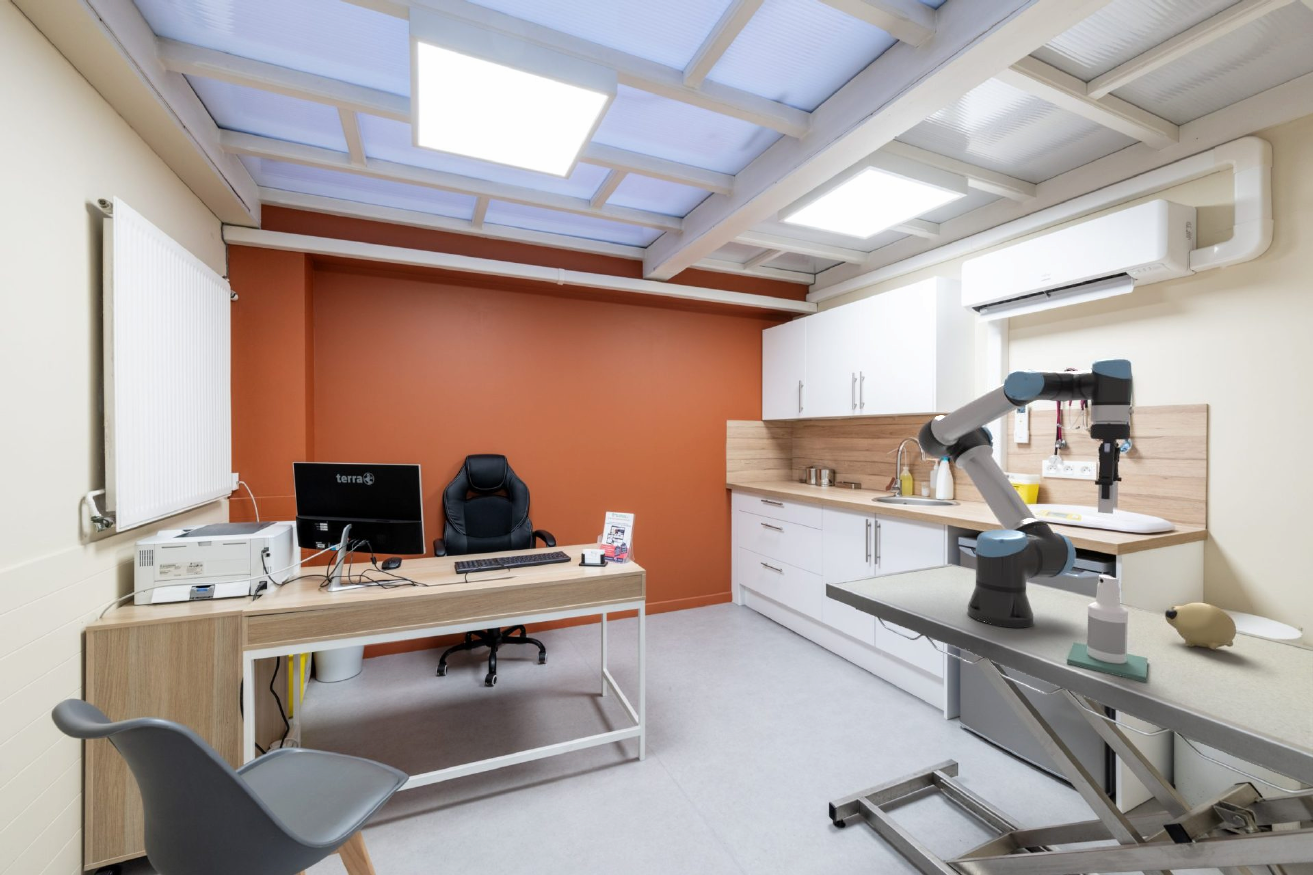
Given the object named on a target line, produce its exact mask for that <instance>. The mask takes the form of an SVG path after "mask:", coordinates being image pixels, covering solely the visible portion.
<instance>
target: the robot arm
mask: <svg viewBox="0 0 1313 875" xmlns="http://www.w3.org/2000/svg"><path fill="white" fill-rule="evenodd" d="M1091 364H1092V365H1091V369H1087V370H1076V371H1062V370H1060V371H1059V370H1034V369H1030V368H1029V369H1020V370H1019V369H1017V370H1014V371H1012V372H1010V373H1008V376H1007V377H1006V378H1005V379H1004V382H1003V384H1001V385H1000V386H997V387H995V388H994V389H992V390H990V391H988V392H986V393H985V394H983V395H981V396H979V397H977V398H976V399H973V400H971V401H970V402H969V403H967V404H965V405H963V406H961V407H960V408H957V409H955V410H954V411H952V412H949V413H948V414H947V415H938V416H936V417H934V418H932V419H930V420H929V421H927V422H926V423H925V424H924V425H922V427H921V428H920V430H919V432H918V440H917V441H918V444H919V447H920V448H921V449H922V450H923V452H925V453H926V454H927V455H929V456H931V457H935V458H949V459H951V460H952V462H953V464H954V465H955V467H957V469H960V470H964V471H965V472H966V473H967V475H968V477H969V478H970V480H971V481H972V483H973V485H974V486H975V488H976V489H977V490H978V492H979V493H980V495H981V496H982V498H983V500H984V502H985V503H986V504H987V506H988V507H989V509H990V510H991V512H992V513H993V515H994V517H995V518H996V519H997V521H998V522H999V524H1000V525H1001V527H1002V528H1003V529H990V530H985V531H982V532H981V533H979V534H978V536H977V539H976V546H975V587H974V589H973V591H972V595H971V597H970V599H969V601H968V603H967V615H968V614H969V615H970V618H972V617H974V618H975V619H974V618H973V619H974V620H976V619H979V620H980V621H979V620H978V621H979V622H981V621H985V622H987V623H986V624H988V623H991V624H990V625H992V624H993V625H994V626H997V627H1005V628H1011V629H1012V628H1015V629H1020V628H1021V629H1022V628H1023V629H1024V628H1030V627H1032V626H1033V625H1034V617H1035V616H1034V613H1033V610H1032V607H1031V604H1030V601H1029V598H1028V595H1027V580H1028V579H1039V578H1042V579H1043V578H1055V577H1059V576H1064V575H1066V574H1067V573H1069V572H1070V571H1072V569H1073V567H1074V566H1075V563H1076V560H1075V559H1076V558H1077V552H1076V547H1075V545H1074V544H1073V542H1072V541H1071V539H1070V538H1069V537H1068V536H1066V535H1064V534H1061V533H1059V532H1054V531H1053V530H1052V529H1051V527H1050V525H1048V523H1047V522H1046V521H1044V520H1041V519H1037V518H1036V517H1035V515H1034V514H1033V512H1032V511H1031V510H1030V508H1029V507H1028V505H1027V503H1026V502H1025V501H1024V500H1023V498H1022V497H1021V495H1020V494H1019V493H1018V491H1017V490H1016V489H1015V487H1014V486H1013V484H1012V483H1011V481H1010V479H1009V478H1008V477H1007V476H1006V474H1005V473H1004V471H1003V470H1002V469H1001V467H1000V466H999V465H998V463H997V462H996V460H995V459H994V457H993V453H994V448H993V446H994V441H993V439H994V437H993V435H992V432H991V431H990V430H989V428H988V427H986V425H988V424H990V423H992V422H994V421H996V420H998V419H1001V418H1002V417H1004V416H1006V415H1008V414H1010V413H1012V412H1014V411H1016V410H1019V409H1021V408H1022V407H1024V406H1027V405H1029V404H1032V403H1033V402H1036V401H1050V402H1068V401H1085V400H1087V401H1090V402H1091V403H1090V422H1092V423H1093V424H1091V425H1090V432H1089V434H1090V438H1091V439H1092V440H1102V443H1100V444H1099V446H1098V454H1099V455H1098V462H1099V464H1098V465H1099V466H1098V478H1097V480H1094V485H1095V486H1098V492H1097V493H1098V494H1097V495H1098V496H1097V499H1098V500H1097V513H1100V514H1101V513H1102V514H1114V508H1115V509H1118V500H1119V498H1118V497H1119V496H1118V495H1119V482H1122V477H1121V476H1120V475H1119V462H1120V454H1121V451H1122V450H1121V446H1119V443H1118V442H1117V440H1119V441H1120V440H1121V441H1123V440H1129V439H1130V438H1131V425H1130V424H1127V423H1129V422H1131V414H1134V412H1135V410H1134V409H1131V407H1132V406H1131V405H1132V403H1131V398H1132V397H1131V396H1132V384H1133V383H1132V382H1133V376H1132V374H1133V372H1132V363H1131V361H1130V360H1128V359H1125V358H1115V359H1114V358H1111V359H1110V358H1109V359H1101V360H1100V359H1099V360H1095V361H1093V362H1092V363H1091ZM969 615H968V616H969ZM985 622H984V623H985ZM993 625H992V626H993Z"/></svg>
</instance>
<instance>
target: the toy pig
mask: <svg viewBox="0 0 1313 875" xmlns="http://www.w3.org/2000/svg"><path fill="white" fill-rule="evenodd" d="M1164 614H1165V616H1164V618H1165V620H1166V622H1167V623H1168V624H1169V625H1171V627H1173V628H1174V629H1175V630H1176V632H1177V633H1178V635H1179V636H1180V637H1181V638H1182V639H1183V640H1184V641H1185V642H1184V643H1185V646H1186V647H1189V648H1191V647H1194V646H1197V647H1202V648H1208V649H1209V648H1210V649H1211V650H1217V649H1218V648H1221V647H1224V646H1226V647H1229V648H1230V647H1233V646H1234V642H1233V641H1234V639H1235V638H1236V635H1237V626H1236V624H1235V621H1234V620H1233V618H1232V617H1231V616H1230V614H1228V613H1227V612H1225V611H1224V610H1223V609H1221V608H1219V607H1217V606H1214V605H1212V604H1208V603H1204V602H1190V603H1187V604H1184V605H1172V606H1171V607H1170V608H1169V609H1167V610H1166V611H1165V613H1164Z"/></svg>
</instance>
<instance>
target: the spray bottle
mask: <svg viewBox="0 0 1313 875" xmlns="http://www.w3.org/2000/svg"><path fill="white" fill-rule="evenodd" d="M1119 584H1120V582H1119V578H1117V577H1113V576H1111V575H1109V574H1099V575H1098V583H1097V585H1096V599H1095V601H1094V602H1091V603H1089V604H1088V606H1087V635H1086V636H1087V637H1086V638H1087V640H1086V641H1087V642H1086V645H1087V654H1088V655H1089V656H1090V657H1092V658H1094V659H1097V660H1100V661H1103V662H1107V663H1114V664H1123V663H1126V661H1127V654H1128V627H1129V626H1128V622H1129V620H1128V619H1129V611H1128V610H1127V609H1126V608H1125V607H1123V606H1121V603H1120V602H1121V597H1120V595H1121V594H1120V590H1121V589H1120V586H1119Z"/></svg>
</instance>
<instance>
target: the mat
mask: <svg viewBox="0 0 1313 875" xmlns="http://www.w3.org/2000/svg"><path fill="white" fill-rule="evenodd" d="M1067 663H1068V664H1067ZM1066 664H1067V665H1072V666H1075V665H1076V667H1081V668H1084V667H1085V669H1088V670H1092V669H1093V671H1097V672H1101V671H1102V673H1105V672H1107V673H1106V674H1109V673H1113V674H1115V675H1114V676H1117V675H1121V676H1123V677H1122V678H1126V679H1130V678H1132V679H1131V680H1134V681H1138V680H1139V681H1138V682H1142V683H1147V675H1148V670H1147V669H1148V658H1147V657H1145V656H1144V657H1143V656H1140V655H1135V654H1129V653H1127V661H1126V663H1123V664H1114V663H1107V662H1103V661H1100V660H1097V659H1094V658H1092V657H1090V656H1089V655H1088V654H1087V644H1085V643H1080V642H1073V643H1072V645H1071V648H1070V651H1069V654H1068V656H1067V658H1066ZM1113 674H1112V675H1113ZM1121 676H1120V677H1121Z"/></svg>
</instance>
